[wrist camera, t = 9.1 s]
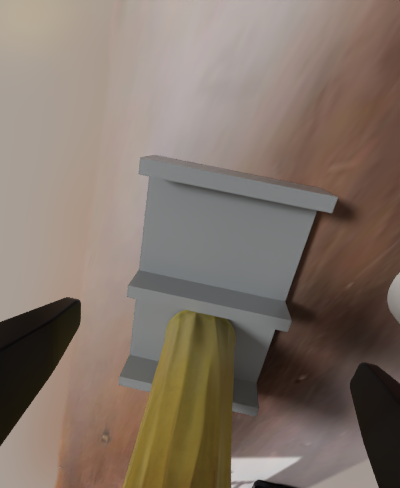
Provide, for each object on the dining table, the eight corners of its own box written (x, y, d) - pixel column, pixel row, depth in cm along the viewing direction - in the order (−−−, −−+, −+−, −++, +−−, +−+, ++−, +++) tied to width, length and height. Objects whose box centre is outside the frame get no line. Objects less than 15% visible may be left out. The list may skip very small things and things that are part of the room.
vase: (152, 325, 24) (54, 561, 10) (209, 293, 22) (180, 526, 9) (192, 372, 25) (151, 631, 12) (249, 345, 23) (276, 613, 10)
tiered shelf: (252, 383, 26) (255, 416, 23) (131, 356, 26) (118, 384, 23) (320, 188, 19) (337, 197, 16) (154, 155, 19) (140, 157, 16)
